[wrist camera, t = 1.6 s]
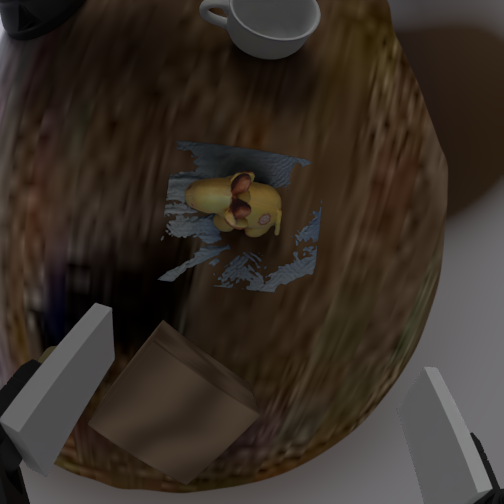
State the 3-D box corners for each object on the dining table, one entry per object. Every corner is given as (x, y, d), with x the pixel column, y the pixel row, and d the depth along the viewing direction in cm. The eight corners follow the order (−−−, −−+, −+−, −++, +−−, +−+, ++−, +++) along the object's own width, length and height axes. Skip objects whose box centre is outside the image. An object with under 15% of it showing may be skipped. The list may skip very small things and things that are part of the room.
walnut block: (105, 392, 35) (87, 424, 27) (162, 319, 36) (152, 341, 28) (187, 447, 37) (186, 485, 29) (248, 383, 37) (260, 415, 29)
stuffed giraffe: (175, 140, 35) (165, 84, 19) (322, 164, 38) (396, 134, 23) (157, 278, 36) (133, 317, 20) (306, 292, 39) (373, 332, 24)
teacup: (306, 22, 37) (325, -10, 29) (296, 79, 37) (316, 49, 29) (211, 1, 34) (215, -36, 27) (190, 56, 35) (189, 20, 27)
